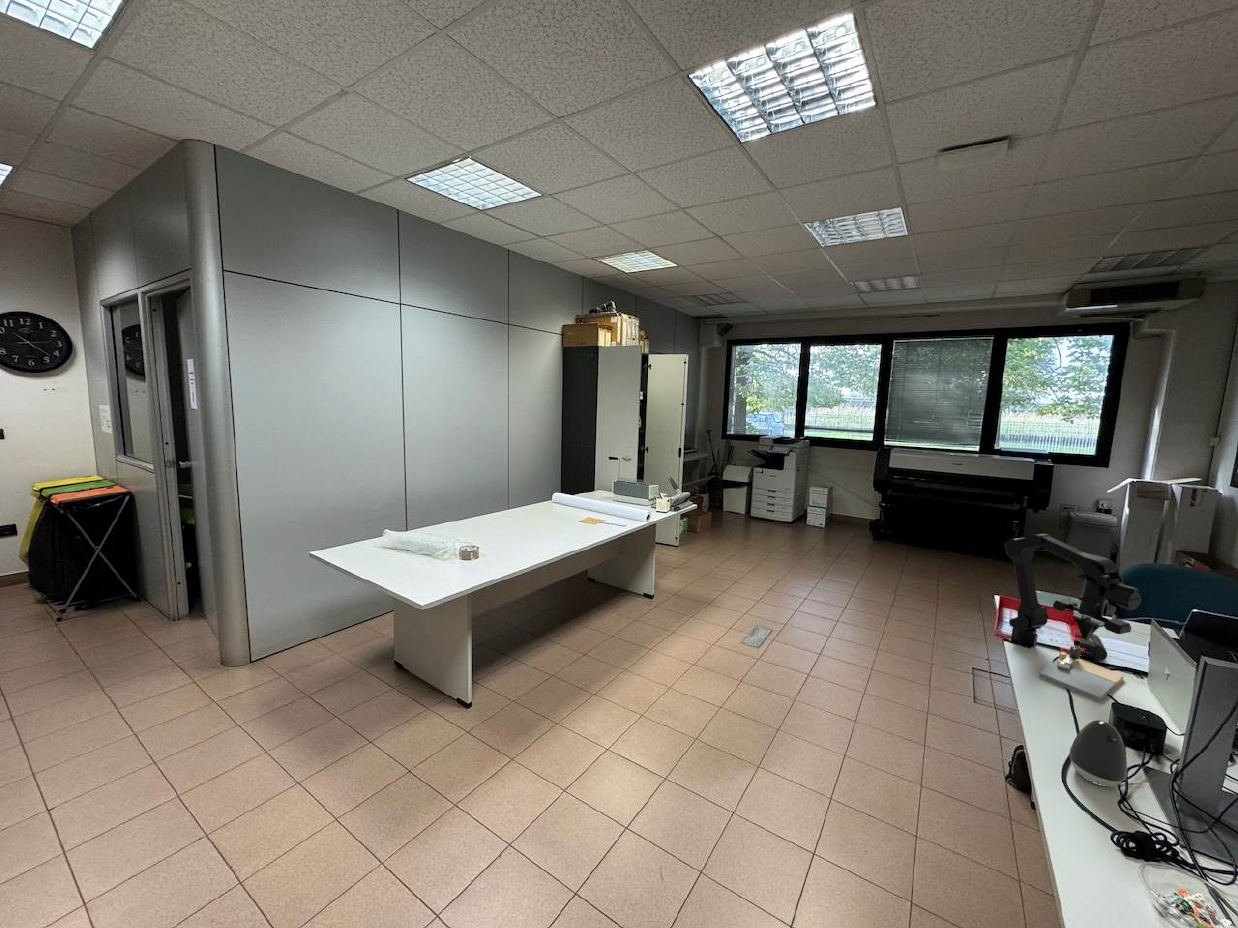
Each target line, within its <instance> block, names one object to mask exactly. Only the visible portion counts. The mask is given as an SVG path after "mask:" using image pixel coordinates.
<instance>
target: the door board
mask: <svg viewBox="0 0 1238 928" xmlns="http://www.w3.org/2000/svg"><path fill="white" fill-rule="evenodd" d="M1067 657H1069V653H1067V652H1064V651H1061V652H1060V653H1059V657H1058V658H1056V659H1055V660H1054V661H1053V662H1051V663H1050V664H1049V665H1048V666H1045V668H1044V669H1042V670H1041V671H1039V674H1038V678H1041V679H1043V680H1045V681H1047V682H1050V683H1053V684H1055V685H1057V686H1060V687H1062V688H1064V689H1066V690H1069V691H1071V692H1074V693H1077V694H1079V695H1080V696H1081V695H1082V696H1084V697H1086V698H1088V699H1091V700H1093V701H1095V702H1098V703H1101V702H1102V701H1103V700H1104V699H1105V698H1106V697H1107V695H1109V694H1110V693H1111V692H1112V691H1113V690H1114V689H1115V688H1116V687H1117V686H1118V685H1119V684H1120V683H1121V682H1122V681H1123V680H1124V677H1125V676H1124V674H1122V673H1119V672H1116V671H1113V670H1111V669H1108V668H1105V667H1103V666H1101V665H1097V664H1095V663H1093V662H1091V661H1086V660H1082V659H1079V660H1078V661H1076V662H1075V663H1074V664H1072V665H1071V666H1070V669H1069V670H1064V669H1061V668H1059V667H1057V661H1063V660H1064V659H1066V658H1067Z"/></svg>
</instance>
